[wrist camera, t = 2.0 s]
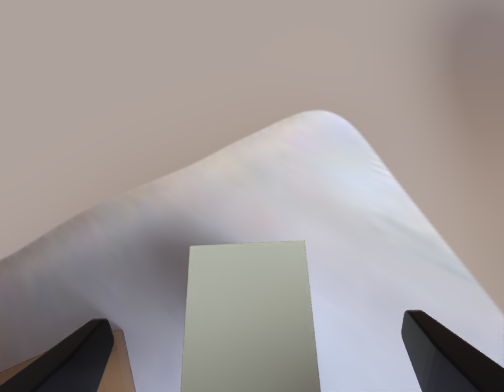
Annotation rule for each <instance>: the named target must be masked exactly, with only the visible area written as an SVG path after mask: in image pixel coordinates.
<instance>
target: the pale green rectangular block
mask: <svg viewBox="0 0 504 392" xmlns="http://www.w3.org/2000/svg"><path fill="white" fill-rule="evenodd" d="M181 392H321V390H320V381H319V371H318V361H317V352H316V342H315V332H314V323H313V313H312V304H311V294H310V284H309V275H308V265H307V255H306V246H305V241H284V242H262V243H241V244H219V245H197V246H190V254H189V269H188V285H187V300H186V316H185V331H184V347H183V362H182V377H181Z"/></svg>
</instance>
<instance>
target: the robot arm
mask: <svg viewBox="0 0 504 392" xmlns="http://www.w3.org/2000/svg"><path fill="white" fill-rule="evenodd" d="M401 334H402V339H403V342H404V345H405V347H406V350H407V353H408V355H409V358H410V361H411V363H412V366H413V369H414V371H415V374H416V377H417V380H418V382H419V385H420V388H421V390H422V392H504V368H503V367H501V366H500V365H499V364H497V363H496V362H494V361H493V360H491V359H490V358H489V357H487V356H486V355H484V354H483V353H482V352H480V351H479V350H477V349H476V348H474V347H473V346H472V345H470V344H469V343H467V342H466V341H464V340H463V339H462V338H460V337H459V336H457V335H456V334H455V333H453V332H452V331H450V330H449V329H447V328H446V327H445V326H443V325H442V324H440V323H439V322H437V321H436V320H435V319H433V318H432V317H430V316H429V315H428V314H426V313H425V312H423V311H421V310H407V311H405V313H404V318H403V324H402V330H401ZM113 346H114V335H113V332H112V330H111V327H110V324H109V321H108V320H107V319H105V318H103V319H92V320H91V321H89V322H88V323H86V324H85V325H84V326H82V327H81V328H79V329H78V330H77V331H75V332H74V333H72V334H71V335H70V336H68V337H67V338H65V339H64V340H63V341H61V342H60V343H58V344H57V345H56V346H54V347H53V348H52V349H50V350H49V351H47V352H46V353H45V354H43V355H42V356H40V357H39V358H38V359H36V360H35V361H33V362H32V363H31V364H29V365H28V366H26V367H25V368H24V369H22V370H21V371H19V372H18V373H17V374H15V375H14V376H12V377H11V378H10V379H8V380H7V381H5V382H4V383H3V384H1V385H0V392H97V391H98V388H99V385H100V382H101V379H102V377H103V374H104V371H105V368H106V366H107V363H108V360H109V357H110V354H111V352H112V349H113Z"/></svg>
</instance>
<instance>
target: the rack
mask: <svg viewBox="0 0 504 392" xmlns="http://www.w3.org/2000/svg"><path fill="white" fill-rule="evenodd" d="M112 332H113V335H114V346H113V349H112V352H111V354H110V357H109V360H108V363H107V366H106V368H105V371H104V374H103V377H102V379H101V382H100V385H99V388H98V391H97V392H136V391H135V387H134V382H133V377H132V372H131V368H130V363H129V358H128V353H127V348H126V344H125V339H124V334H123V330H120V331H112ZM45 353H46V352H45ZM45 353H43V354H45ZM43 354H40V355H38V356H36V357H34V358H32V359H29V360H27V361H25V362H23V363H21V364H18V365H16V366H14V367H12V368H10V369H7V370H5V371H3V372H1V373H0V385H1V384H3V383H4V382H5V381H7V380H8V379H10V378H11V377H12V376H14V375H15V374H17V373H18V372H19V371H21V370H22V369H24V368H25V367H26V366H28V365H29V364H31V363H32V362H33V361H35V360H36V359H38V358H39V357H40V356H42V355H43Z"/></svg>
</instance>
